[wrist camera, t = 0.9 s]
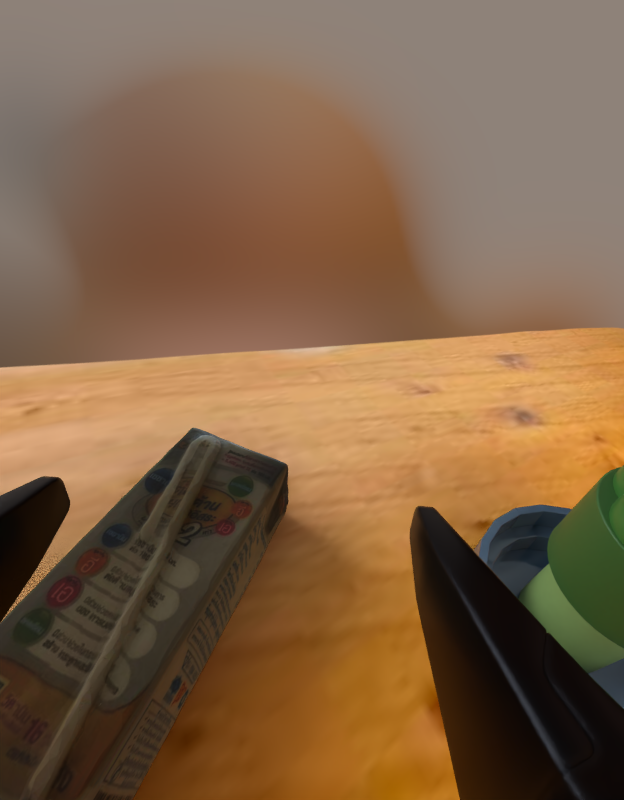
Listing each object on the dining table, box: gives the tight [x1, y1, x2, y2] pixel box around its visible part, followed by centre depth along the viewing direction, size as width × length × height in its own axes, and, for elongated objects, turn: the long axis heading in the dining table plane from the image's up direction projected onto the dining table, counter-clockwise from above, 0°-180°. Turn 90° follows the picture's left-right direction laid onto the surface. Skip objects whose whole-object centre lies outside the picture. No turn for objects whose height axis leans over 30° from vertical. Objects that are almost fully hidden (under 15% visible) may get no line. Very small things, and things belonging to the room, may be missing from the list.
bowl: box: [474, 505, 624, 708], centre depth 21 cm, size 11×11×4 cm
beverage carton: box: [0, 428, 288, 800], centre depth 19 cm, size 8×19×7 cm, turn 156°
